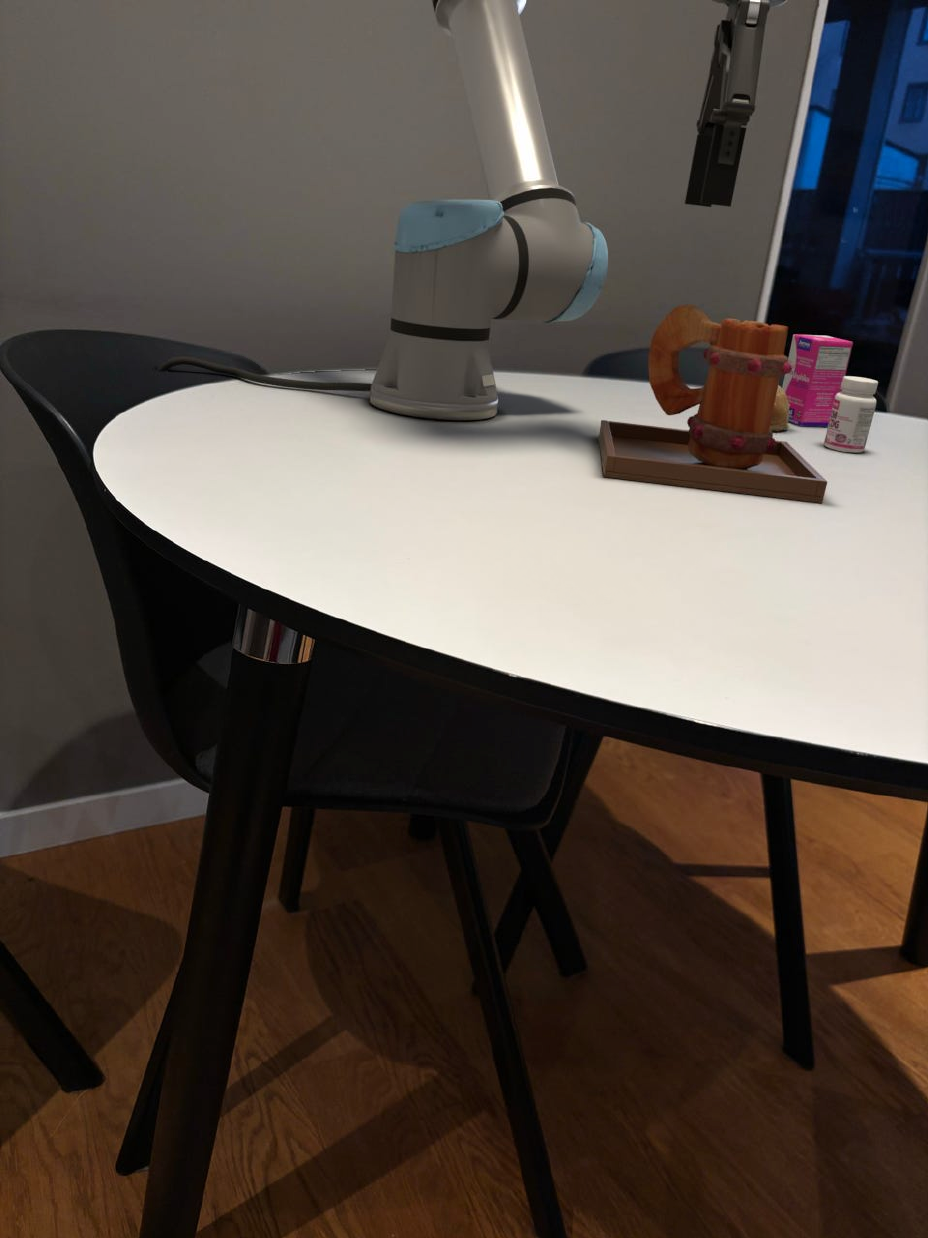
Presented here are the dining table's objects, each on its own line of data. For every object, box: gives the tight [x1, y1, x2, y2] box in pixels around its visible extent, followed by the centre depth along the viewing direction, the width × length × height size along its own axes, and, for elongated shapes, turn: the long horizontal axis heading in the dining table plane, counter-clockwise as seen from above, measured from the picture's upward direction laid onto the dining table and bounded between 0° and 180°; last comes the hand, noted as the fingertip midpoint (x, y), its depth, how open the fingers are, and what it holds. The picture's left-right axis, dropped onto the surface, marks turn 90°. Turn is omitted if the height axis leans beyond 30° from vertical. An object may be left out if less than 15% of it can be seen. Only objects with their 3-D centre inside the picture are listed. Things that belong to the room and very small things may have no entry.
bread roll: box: [769, 384, 790, 432], centre depth 128 cm, size 10×10×8 cm
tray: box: [598, 419, 828, 504], centre depth 101 cm, size 21×19×2 cm
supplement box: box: [781, 333, 854, 428], centre depth 133 cm, size 6×6×12 cm
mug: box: [648, 303, 792, 470], centre depth 99 cm, size 15×8×15 cm, turn 55°
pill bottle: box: [823, 375, 879, 454], centre depth 118 cm, size 5×5×8 cm
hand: (705, 205), depth 96 cm, fingers open, 13 cm apart
